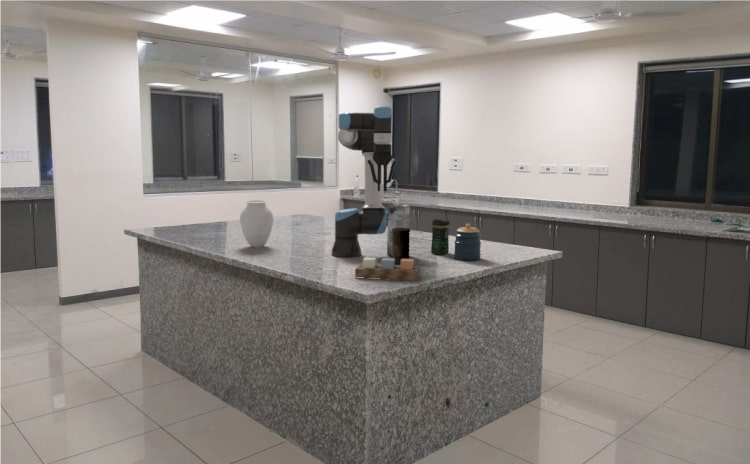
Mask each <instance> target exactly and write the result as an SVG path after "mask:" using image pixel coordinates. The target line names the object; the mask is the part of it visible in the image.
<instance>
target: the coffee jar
mask: <svg viewBox="0 0 750 464" xmlns="http://www.w3.org/2000/svg"><path fill="white" fill-rule="evenodd" d="M431 231H432V233H431V235H432V237H431V249H430V252H431V254H433V255H446V254H449V252H450V251H449V248H450V247H449V245H450V244H449V238H450V237H449V234H450V233H449V231H450V219H448V218H446V217H438V218H434V219H433V220H432V222H431Z"/></svg>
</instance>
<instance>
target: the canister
mask: <svg viewBox="0 0 750 464" xmlns="http://www.w3.org/2000/svg"><path fill="white" fill-rule="evenodd" d="M454 237H455V240H454V255H453V256H454V259H456V260H459V261H463V262H472V261H474V262H475V261H479V260H480V259H481V257H482V256H481V255H482V254H481V246H482V242H481V237H482V235H481V233H480V230H479V229H478V228H477V227H473V226H472V225H471V223H466V224H465V226H463V227H462V226H460V227H458V228H457V229H456V233H455V234H454Z"/></svg>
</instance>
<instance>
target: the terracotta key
mask: <svg viewBox="0 0 750 464" xmlns="http://www.w3.org/2000/svg"><path fill="white" fill-rule="evenodd" d="M414 262H415V260H414V258H409V259H401V266H400V269H402V270H414V266H415V265H414V264H415V263H414Z"/></svg>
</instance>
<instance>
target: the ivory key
mask: <svg viewBox="0 0 750 464" xmlns="http://www.w3.org/2000/svg"><path fill="white" fill-rule="evenodd" d="M362 264H363V268H376V264H377V257H366V256H365V257H364V258H362Z"/></svg>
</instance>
